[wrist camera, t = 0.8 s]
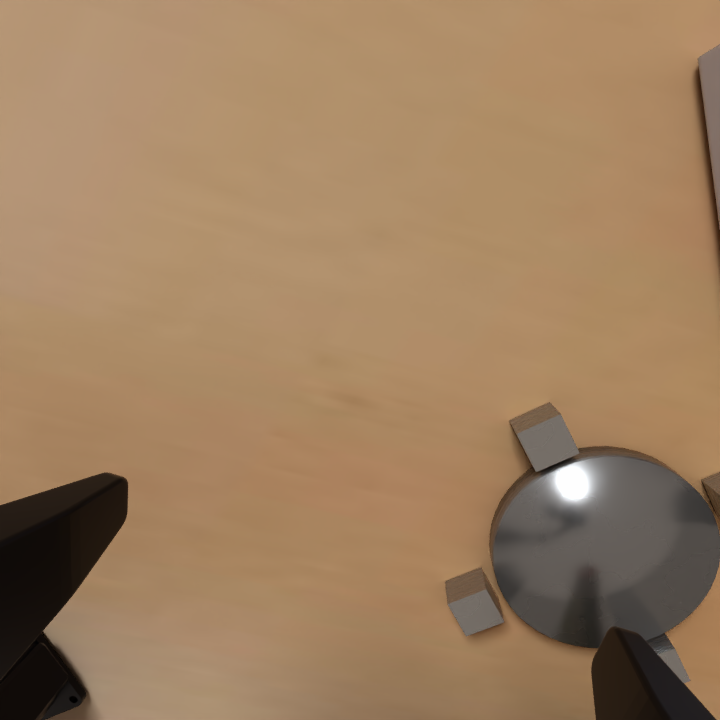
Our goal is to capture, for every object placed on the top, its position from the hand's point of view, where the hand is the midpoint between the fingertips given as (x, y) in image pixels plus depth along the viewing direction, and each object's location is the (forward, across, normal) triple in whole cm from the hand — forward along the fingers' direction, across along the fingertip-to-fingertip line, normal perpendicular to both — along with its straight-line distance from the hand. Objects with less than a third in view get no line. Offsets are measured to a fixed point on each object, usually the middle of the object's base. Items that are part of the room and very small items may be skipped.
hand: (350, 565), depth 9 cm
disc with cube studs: (+14, -11, +8) cm, 20 cm away
